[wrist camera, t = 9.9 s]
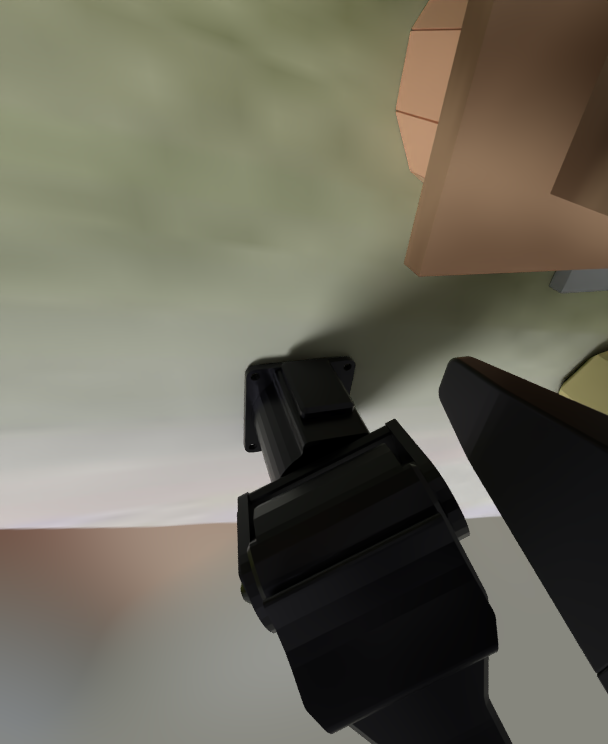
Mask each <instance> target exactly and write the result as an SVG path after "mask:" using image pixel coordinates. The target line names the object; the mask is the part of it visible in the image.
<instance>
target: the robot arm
mask: <svg viewBox="0 0 608 744" xmlns="http://www.w3.org/2000/svg"><path fill="white" fill-rule="evenodd" d="M346 364H348V365H347V366H345V365H346ZM344 366H345V367H344ZM354 370H355V362H354V361H353V359H352V358H351V357H349V356H344V357H334V358H320V359H310V360H300V361H290V362H284V363H274V364H263V365H254V366H250V367H249V368H247V370H246V371H245V391H244V447H245V450H246V451H247V452H258V451H262V453H263V456H264V460H265V463H266V466H267V470H268V473H269V476H270V479H271V483H269V484H267V485H265V486H263V487H261V488H259V489H257V490H255V491H253V492H251V493H248V492H247V493H245V494H243V495H241V496H239V497H238V512H237V528H238V529H237V530H238V531H237V532H238V570H239V572H238V573H239V577H240V580H241V582H242V583H241V594H242V596H243V599H244V600H245V601H246V602H248V603H251V604H252V606H253V608H254V610H255V612H256V614H257V616H258V617H259V619H260V621H261V622H262V624H263V625H264V626H265V627H266V628H267V629H268V630H269V631H270V632H272V633H276V632H277V634H278V636H279V639H280V641H281V643H282V646H283V648H284V650H285V652H286V655H287V658H288V661H289V664H290V666H291V669H292V672H293V675H294V678H295V681H296V683H297V687H298V690H299V693H300V695H301V699H302V701H303V704H304V707H305V709H306V710H307V712H308V713H309V714H310V715H311V716H312V717H313V718H314V719H315V720H316V721H317V722H318V723H319V724H320V725H321V726H322V728H323V729H324V730H326V731H327V732H328V733H330V734H333V733H335V732H337V731H339V730H341V729H343V728H345V727H347V726H349V727H351V728H352V729H353V730H355V731H356V732H357V733H359V734H360V735H361V736H362V737H364V738H365V739H366V740H368V741H369V742H370V743H371V744H512V742H511V740H510V738H509V736H508V734H507V732H506V731H505V728H504V727H503V724H502V723H501V721H500V719H499V717H498V715H497V713H496V711H495V709H494V707H493V705H492V703H491V701H490V699H489V695H488V660H489V657H488V656H490V655H492V654H494V653H495V652H497V651H498V636H497V626H496V617H495V614H494V612H493V609H492V607H491V606H490V604H489V602H488V596H487V594H486V591H485V589H484V587H483V586H482V583H481V582H480V580H479V578H478V576H477V574H476V572H475V570H474V568H473V566H472V565H471V563H470V561H469V559H468V557H467V555H466V553H465V551H464V549H463V547H462V545H461V544H460V542H459V541H460V540H461V539H464V538H465V537H467V536H469V535H470V533H469V528H468V525H467V523H466V520H465V518H464V516H463V514H462V511H461V509H460V507H459V505H458V503H457V502H456V500H455V498H454V496H453V494H452V492H451V491H450V489H449V487H448V486H447V484H446V482H445V481H444V479H443V478H442V476H441V475H440V473H439V472H438V470H437V469H436V467H435V466H434V465H433V463H432V462H431V461H430V460H429V458H428V457H427V456H426V455H425V454H424V453H423V451H422V450H421V449H420V448H419V447H418V445H417V444H416V443H415V442H414V441H413V439H412V438H411V437H410V436H409V435H408V433H407V432H406V431H405V430H404V429H403V428H402V426H401V425H400V424H399V423H398V422H397V420H396V419H393V420H391V421H389V422H387V423H385V426H383V427H381V428H379V429H377V430H375V431H373V432H371V433H370V432H369V430H368V429H367V427H366V425H365V424H364V422H363V420H362V418H361V417H360V415H359V413H358V412H357V410H356V408H355V407H354V402H353V401H352V399H351V397H350V390H351V385H352V380H353V375H354ZM255 373H258V374H257V375H256V376H251V375H252V374H255ZM439 398H440V401H441V403H442V405H443V407H444V410H445V412H446V414H447V416H448V418H449V420H450V422H451V425H452V427H453V429H454V431H455V433H456V435H457V437H458V439H459V442H460V444H461V446H462V448H463V450H464V452H465V454H466V456H467V458H468V460H469V462H470V463H471V465H472V467H473V469H474V470H475V472H476V474H477V476H478V477H479V479H480V481H481V482H482V484H483V486H484V487H485V489H486V491H487V492H488V494H489V496H490V497H491V499H492V501H493V502H494V504H495V506H496V507H497V509H498V511H499V512H500V514H501V516H502V517H503V519H504V520H505V522H506V524H507V526H508V527H509V529H510V530H511V532H512V534H513V535H514V537H515V539H516V541H517V542H518V544H519V546H520V547H521V549H522V551H523V552H524V554H525V555H526V557H527V559H528V561H529V562H530V564H531V566H532V567H533V569H534V571H535V572H536V574H537V576H538V577H539V579H540V581H541V582H542V584H543V586H544V587H545V589H546V591H547V592H548V594H549V596H550V597H551V599H552V601H553V603H554V604H555V606H556V608H557V609H558V611H559V612H560V614H561V616H562V617H563V619H564V621H565V623H566V624H567V626H568V627H569V629H570V631H571V633H572V634H573V636H574V638H575V639H576V641H577V643H578V644H579V646H580V648H581V649H582V651H583V653H584V654H585V656H586V657H587V659H588V661H589V663H590V664H591V666H592V668H593V669H594V671H595V672H596V673H597V677H598V678H599V680H600V682H601V683H602V685H603V687H604V688H605V690H606V692H607V693H608V415H606V414H604V413H602V412H599V411H597V410H595V409H592V408H590V407H588V406H585V405H583V404H581V403H578V402H576V401H574V400H571V399H569V398H567V397H564V396H562V395H560V394H557V393H555V392H553V391H550V390H548V389H546V388H543V387H541V386H539V385H536V384H534V383H532V382H529V381H527V380H525V379H522V378H520V377H518V376H515V375H513V374H511V373H508V372H506V371H504V370H501V369H499V368H497V367H494V366H492V365H490V364H487V363H485V362H483V361H480V360H478V359H476V358H473V357H469V356H466V357H457V358H453V359H451V360H450V361H449V363H448V365H447V367H446V370H445V373H444V376H443V379H442V381H441V384H440V387H439ZM251 444H253V445H251Z"/></svg>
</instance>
